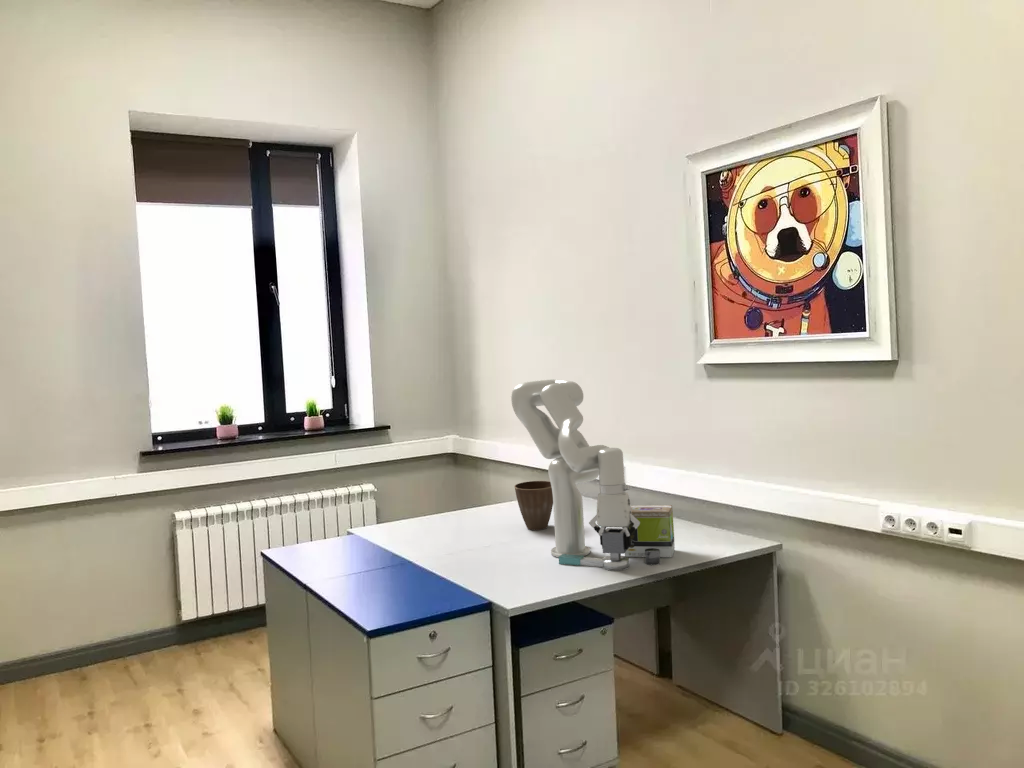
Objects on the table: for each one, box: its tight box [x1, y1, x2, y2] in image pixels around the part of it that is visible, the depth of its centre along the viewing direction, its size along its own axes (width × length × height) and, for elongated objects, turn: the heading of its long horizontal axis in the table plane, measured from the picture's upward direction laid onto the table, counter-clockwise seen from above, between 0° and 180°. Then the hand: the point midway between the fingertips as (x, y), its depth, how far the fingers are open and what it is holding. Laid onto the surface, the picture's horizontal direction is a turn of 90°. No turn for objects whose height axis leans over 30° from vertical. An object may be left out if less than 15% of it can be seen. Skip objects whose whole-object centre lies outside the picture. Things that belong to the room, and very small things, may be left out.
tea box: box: [624, 504, 676, 558], centre depth 265 cm, size 15×10×15 cm, turn 73°
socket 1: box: [602, 527, 628, 555], centre depth 252 cm, size 6×6×6 cm
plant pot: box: [514, 480, 554, 531], centre depth 306 cm, size 15×15×16 cm
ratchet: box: [558, 553, 630, 572], centre depth 256 cm, size 22×8×6 cm, turn 64°
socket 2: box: [644, 548, 661, 566], centre depth 255 cm, size 4×4×4 cm
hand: (615, 547), depth 252 cm, fingers closed on socket 1, 6 cm apart
